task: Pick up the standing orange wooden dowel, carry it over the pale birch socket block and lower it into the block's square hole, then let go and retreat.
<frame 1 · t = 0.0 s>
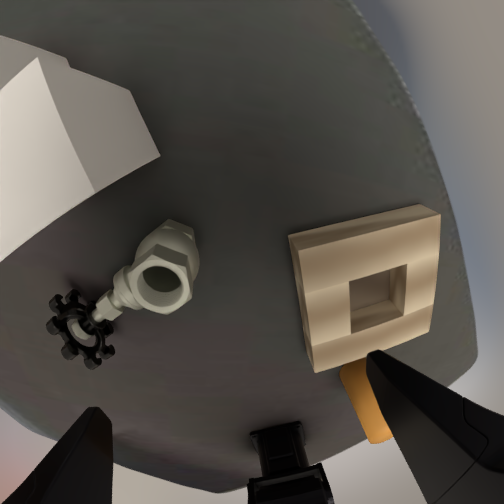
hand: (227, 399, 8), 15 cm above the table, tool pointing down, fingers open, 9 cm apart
peg: (354, 369, 30), on the table
corner bracket: (66, 132, 18), on the table
valve: (136, 270, 23), on the table
socket block: (363, 282, 25), on the table
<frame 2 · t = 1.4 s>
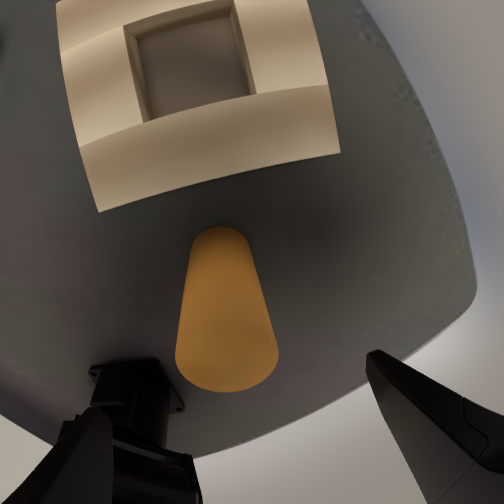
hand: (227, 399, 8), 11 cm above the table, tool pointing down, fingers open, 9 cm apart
peg: (220, 254, 18), on the table
socket block: (192, 67, 14), on the table
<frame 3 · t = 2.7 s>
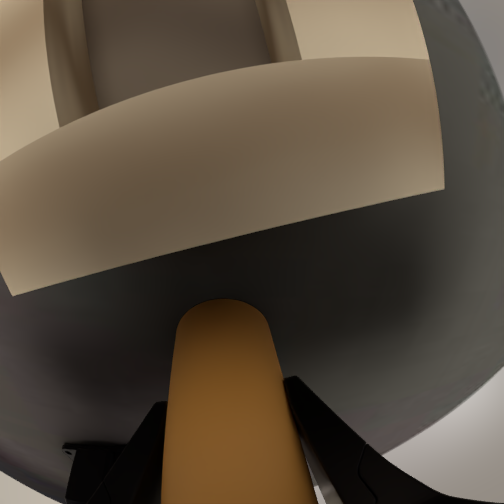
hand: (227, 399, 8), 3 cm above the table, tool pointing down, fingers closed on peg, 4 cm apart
peg: (223, 338, 11), on the table, touching gripper
socket block: (169, 24, 7), on the table
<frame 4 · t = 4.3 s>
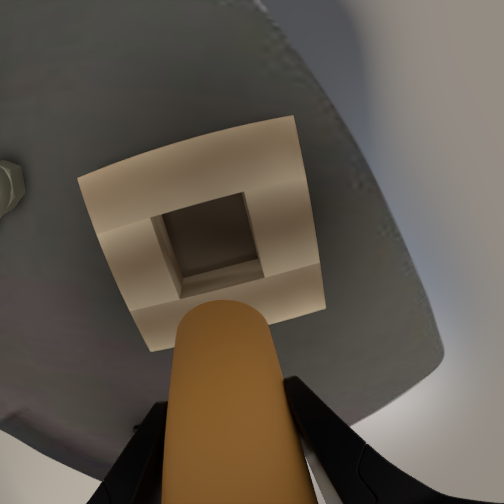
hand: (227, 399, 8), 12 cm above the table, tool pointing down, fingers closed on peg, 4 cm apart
peg: (223, 339, 11), point 9 cm above the table, touching gripper
socket block: (209, 231, 19), on the table
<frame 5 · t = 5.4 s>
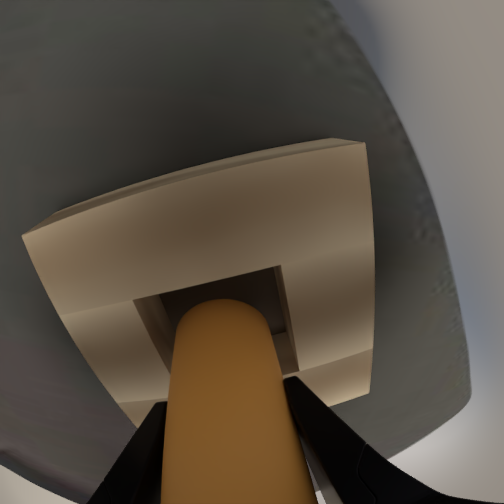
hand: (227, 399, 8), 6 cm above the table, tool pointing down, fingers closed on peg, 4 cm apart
peg: (223, 338, 11), point 3 cm above the table, touching gripper
socket block: (220, 299, 14), on the table
when the fingers open (4 cm above the table, at t = 6.0 s): peg stays where it is, resting on socket block.
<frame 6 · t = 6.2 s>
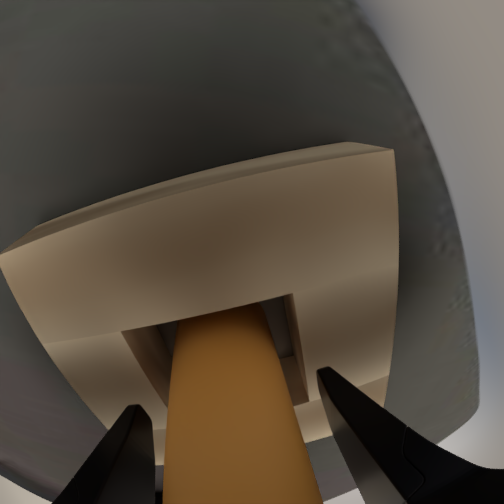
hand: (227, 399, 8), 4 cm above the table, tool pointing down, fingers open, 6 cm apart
peg: (222, 326, 12), resting on socket block
socket block: (222, 323, 12), on the table
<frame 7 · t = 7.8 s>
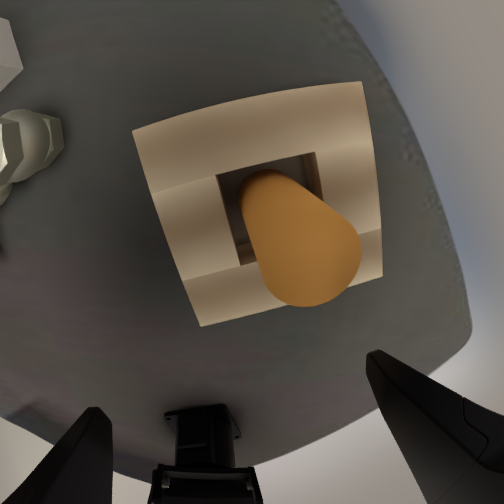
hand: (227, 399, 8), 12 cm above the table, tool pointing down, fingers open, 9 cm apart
peg: (267, 197, 18), resting on socket block
valve: (15, 179, 16), on the table
socket block: (267, 196, 18), on the table
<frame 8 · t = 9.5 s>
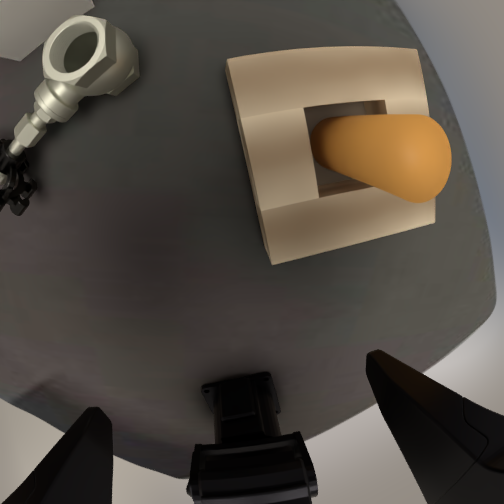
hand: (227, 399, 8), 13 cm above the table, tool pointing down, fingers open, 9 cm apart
peg: (335, 143, 18), resting on socket block
corner bracket: (19, 9, 11), on the table
valve: (72, 110, 16), on the table
socket block: (334, 143, 18), on the table
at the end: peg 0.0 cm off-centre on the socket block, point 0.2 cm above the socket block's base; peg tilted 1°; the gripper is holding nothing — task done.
